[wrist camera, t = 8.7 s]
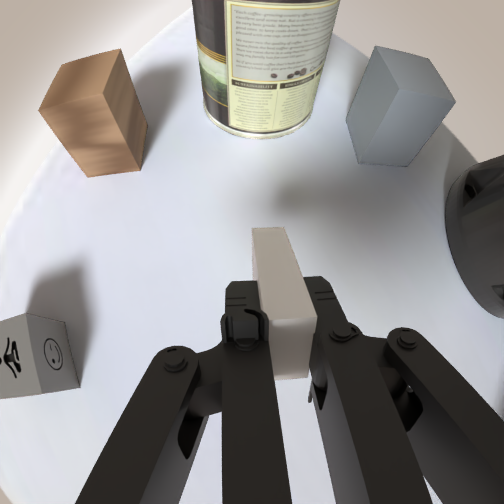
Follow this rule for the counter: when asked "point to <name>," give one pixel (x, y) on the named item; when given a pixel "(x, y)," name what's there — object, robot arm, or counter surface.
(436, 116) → the slate-grey block
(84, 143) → the walnut block
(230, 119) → the coffee can
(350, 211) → the counter surface
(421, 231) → the counter surface
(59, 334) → the dice cube
